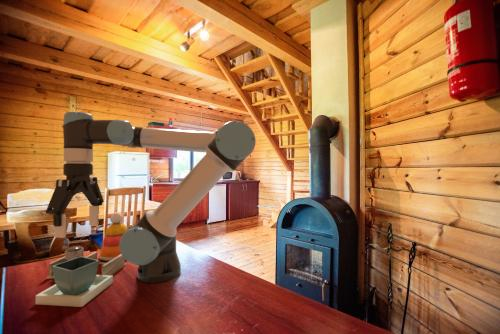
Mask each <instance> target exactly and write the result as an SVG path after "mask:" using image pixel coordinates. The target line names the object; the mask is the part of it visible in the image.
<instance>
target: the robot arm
mask: <svg viewBox="0 0 500 334" xmlns="http://www.w3.org/2000/svg"><path fill="white" fill-rule="evenodd" d="M62 132H63V133H62V134H63V135H62V136H63V162H65V163H64V164H63V165H62V167H63V168H62V169H63V170H62V171H63V175H64V176H65V177H66V178H65V179H64V178H63V179H56V180H55V187H54V188H55V189H54V191H53V193H52V196H51V198H50V200H49V203H48V205H47V208H46V210H45V213H46V214H47V215H50V216H51V215H52V217H53V221H52V222H53V223H52V224H53V227H54V238H58V239H59V238H61V239H62V238H63V239H64V238H67V234H66V233H67V227H66V226H67V225H66V224H67V220H66V218H67V216H66V215H67V214H66V213H64V212H65V211H66V209H67V208H68V206H69V204H70V202H71V201H72V200H73V197H74V196H75V195H77V194H80V193H82V194H83V195H84V197H85V198H86V200H87V201H88V202H89V204H90V205H89V207H88V208H89V210H88V213H89V214H88V215H89V217H88V218H89V219H88V221H89V222H88V224H89V226H95V227H97V226H99V214H100V210H99V209H100V206H102V205H103V203H104V201H105V200H104V197H103V194H102V191H101V189H100V186H99V184H98V177H96V176H91V175H93V174H94V164H93V162H94V145H99V144H100V145H115V146H121V147H127V148H131V149H132V148H133V149H136V148H140V149H143V148H144V149H145V148H146V149H153V150H154V149H155V150H156V149H157V150H170V151H183V152H196V153H205V155H204V156H203V157H202V158H201V159H200V160H199V161H198V163H197V164H196V165H195V166H194V167H193V168H192V169H191V170H190V171H189V173H187V175H185V177H184V178H183V179H182V180H181V181H180V182H179V183H178V185H176V186H175V188H174V189H173V190H172V191H171V192H170V193H169V194H168V195H167V197H165V199H164V200H163V201H162V202H161V203H160V204H159V205H158V206H157V208H155V209H154V210H153V209H151V210H150V209H149V210H147V212H146V211H145V212H144V213H143V215H142V216H141V218H139V219H138V221H137V222H135V224H134V225H133V226H132V227H130V228H128V230H127V231H126V232H125V233H124V234H123V235H122V237H121V239H120V244H119V246H120V252H121V254H122V256H123V257H124V259H125V261H126V262H128V263H130V264H131V265H133V266H138V267H137V271H136V278H137V280H138V281H141V282H143V283H150V284H151V283H152V284H155V283H156V284H157V283H162V282H167V281H171V280H172V279H174V278H176V277H178V276H179V275H180V274H181V271H182V270H181V267H182V265H181V262H180V258H179V256H178V253H177V234H178V233H177V232H178V231H177V228H178V226H179V225H180V224H181V223H182V222H183V221H184V220H185V218H187V217H188V215H190V213H191V212H192V211H193V210H194V209H195V208H196V207H197V205H198V204H199V203H200V202H201V201H202V200H203V199H204V198H205V196H207V195H208V193H209V192H210V191H211V190H212V189H213V188H214V187H215V186H216V184H218V182H219V181H220V180H221V179H222V178H223V177H224V176H225V175H226V173H229V172H230V173H231V172H235V170H237V169H238V167H240V165H242V163H243V162H244V161H245V160H246V158H247V157H249V156H250V155H251V154H252V153H253V151H254V150H255V147H256V143H257V142H256V136H255V133H254V131H253V129H252V128H251V127H250V126H249V125H248V124H246V123H245V122H243V121H239V120H232V121H228V122H225V123H224V124H223V125H221V127H219V129H216V130H214V131H213V132H212V131H211V132H210V131H200V130H199V131H198V130H197V131H196V130H185V129H184V130H181V129H170V128H156V127H143V126H133V124H132V123H131V122H130V121H129V120H123V119H119V118H118V119H94V118H93V115H92V114H91V113H87V112H82V111H67V112H65V113H64V114H63V125H62Z"/></svg>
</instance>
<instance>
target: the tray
mask: <svg viewBox="0 0 500 334" xmlns="http://www.w3.org/2000/svg"><path fill="white" fill-rule="evenodd" d="M113 283H114V275H102V274H96V278H95V280H94V282H93V284H92V285H91V287H90V288H89V289H88V290H86V291H84V292H81V293H79V294H77V295H75V296H71V295H67V294H63V293H62V292H61V291H60V290H59V289H58V287H57V285H56V283H55V284H53V285H52V286H49V287H48V288H46V289H45V290H43V291H41V292H39V293H38V294H35V305H40V306H41V305H42V306H43V305H44V306H61V307H74V308H75V307H79V308H82V307H84V306H85V305H86V304H88V303H89V302H90V301H91V300H93V299H94V298H96V296H98V295H99V294H100V293H101V292H103V291H105V290H106V289H107V288H108V287H110V286H111V285H113Z"/></svg>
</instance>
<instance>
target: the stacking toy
mask: <svg viewBox="0 0 500 334" xmlns="http://www.w3.org/2000/svg"><path fill="white" fill-rule="evenodd" d="M109 219H110V220H109V221H110V223H112V224H110V225H109V226H108V227H107V228H106V231H105V236H104V237H103V242H102V247H101V249H100V252H99V253H98V257H99V259H100V260H102V261H107V262H109V261H111V260H112V259H114V258H115V257H117V256H119V255H120V254H121V252H120V246H119V244H120V239H121V237H122V235H123V234H124V233H125V232H126V231H127V230H128V229H129V228H128V226H127V225H126V224H124V223H122V222H123V214H122V213H121V212H118V211H114V212H112V214H111V215H110V218H109Z"/></svg>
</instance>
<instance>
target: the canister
mask: <svg viewBox="0 0 500 334" xmlns="http://www.w3.org/2000/svg"><path fill="white" fill-rule="evenodd" d="M84 251H85V250H84V247H83V246H81V245H75V246H70V247H68V248H67V249H65V251H64V254H65V255H64V256H65V262H66V261H69V260H72V259H74V258H77V257H85V256H84V255H85V254H84Z"/></svg>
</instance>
